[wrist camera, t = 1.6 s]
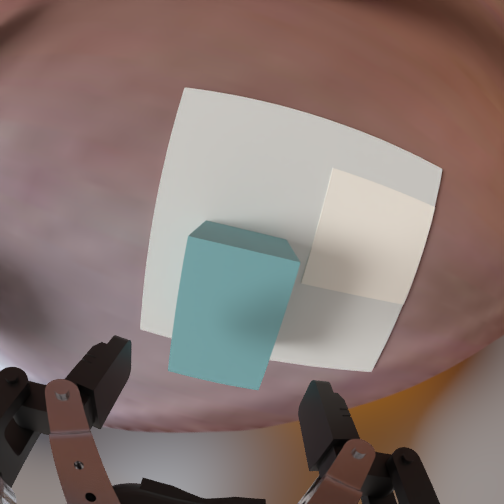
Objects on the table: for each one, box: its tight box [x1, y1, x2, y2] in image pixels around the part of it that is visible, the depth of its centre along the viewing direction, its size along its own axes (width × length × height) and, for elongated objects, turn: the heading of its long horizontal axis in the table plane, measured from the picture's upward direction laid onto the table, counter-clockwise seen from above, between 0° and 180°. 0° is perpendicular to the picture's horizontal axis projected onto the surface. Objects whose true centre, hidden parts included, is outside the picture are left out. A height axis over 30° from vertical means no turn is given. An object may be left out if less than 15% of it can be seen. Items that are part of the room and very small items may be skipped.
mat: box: [140, 88, 442, 372], centre depth 21 cm, size 20×22×1 cm
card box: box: [168, 221, 301, 390], centre depth 18 cm, size 9×6×6 cm, turn 166°
